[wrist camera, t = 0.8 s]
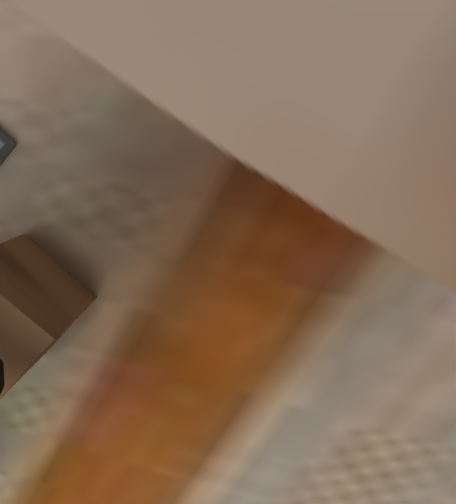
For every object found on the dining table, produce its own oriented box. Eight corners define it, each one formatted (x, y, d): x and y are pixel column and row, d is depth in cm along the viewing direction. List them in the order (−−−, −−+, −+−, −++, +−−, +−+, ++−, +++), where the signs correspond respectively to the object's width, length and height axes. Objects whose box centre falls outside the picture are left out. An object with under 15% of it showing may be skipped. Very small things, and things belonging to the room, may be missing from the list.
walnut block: (43, 354, 23) (-11, 410, 18) (-28, 296, 22) (-103, 338, 18) (97, 296, 22) (54, 339, 17) (24, 234, 21) (-41, 260, 17)
